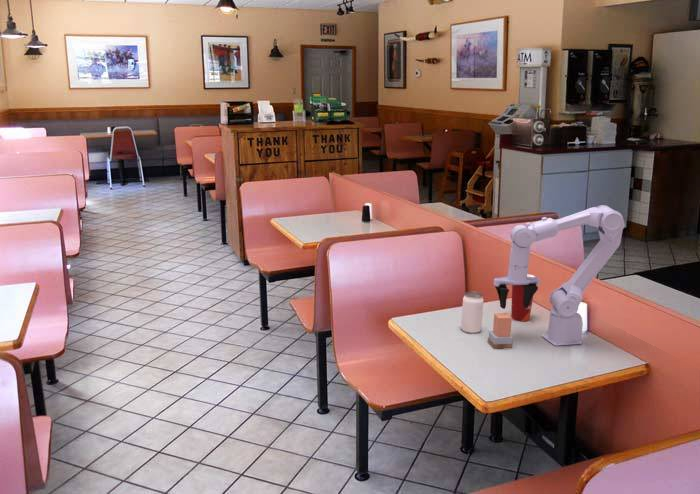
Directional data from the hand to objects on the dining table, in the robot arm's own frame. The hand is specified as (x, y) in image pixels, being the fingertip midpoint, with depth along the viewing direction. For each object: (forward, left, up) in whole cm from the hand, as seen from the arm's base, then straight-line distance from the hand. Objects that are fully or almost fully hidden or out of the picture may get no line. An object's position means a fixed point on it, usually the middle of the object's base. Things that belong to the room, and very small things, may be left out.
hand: (514, 307), depth 196 cm
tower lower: (+6, +4, -11) cm, 13 cm away
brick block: (+6, +4, -7) cm, 10 cm away
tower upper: (+6, +4, -9) cm, 11 cm away
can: (+10, -9, -11) cm, 17 cm away
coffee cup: (-11, -16, -11) cm, 22 cm away
